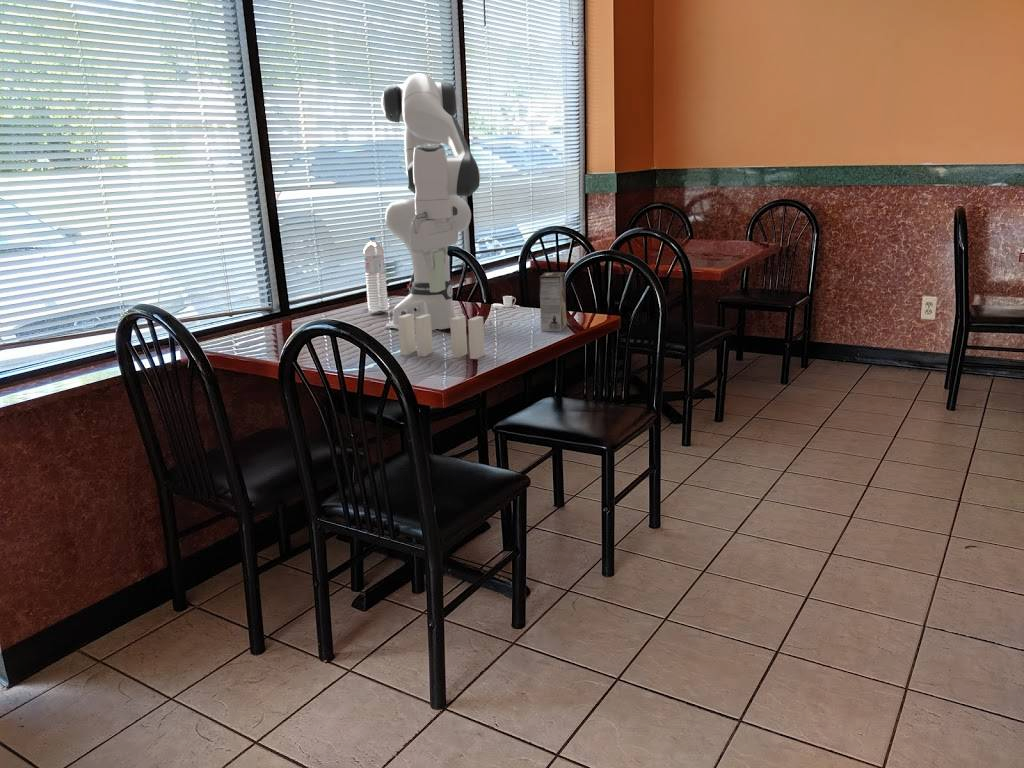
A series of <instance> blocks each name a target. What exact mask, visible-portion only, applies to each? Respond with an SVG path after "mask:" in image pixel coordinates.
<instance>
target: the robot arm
mask: <svg viewBox="0 0 1024 768" xmlns="http://www.w3.org/2000/svg"><path fill="white" fill-rule="evenodd" d="M458 96H459V95H458V93H457V90H456V89H455V86H454V84H452V83H451V82H447V81H440V82H438V81H435V80H434V79H433V78H432V77H431V76H429V75H428V74H425V73H423V72H422V73H421V72H419V73H414V74H411V75H410V76H409V77H407V78H406V80H405V81H404V83H401V84H397V83H393V84H390V85H388V86H386V87H385V88H384V89H383V92H382V95H381V99H380V100H381V101H380V104H381V109H382V112H383V114H384V116H385V118H386V119H387V120H388V121H390V122H392V123H400V122H401V123H402V122H403V123H404V126H405V127H404V140H403V141H404V143H403V145H404V160H405V171H406V173H405V174H406V177H407V180H408V186H407V189H408V190H410V192H411V193H413V194H414V198H405V199H400V200H396V201H392V202H390V203H389V205H388V206H387V208H386V209H385V212H384V222H385V225H386V227H387V230H389V232H391V234H392V235H394V236H395V237H397V238H398V239H399V240H400V241H401V242H402V243H403V244H404V246H405V247H406V248H407V250H408V252H409V254H410V258H411V263H412V269H413V272H412V273H413V281H412V282H411V283H409V284H406V286H407V287H406V289H408V290H409V294H408V295H406V296H405V297H404V298H403V299H402V300H401V301H399V302H398V303H397V304H396V305H395V306H394V308H393V311H392V320H391V321H389V322H387V323H386V324H385V327H386V326H388V327H397V328H399V325H398V317H400V316H403V315H405V314H414V325H415V318H416V317H419V316H421V315H424V314H427V315H431V328H432V331H436V330H435V329H439V330H446V329H451V326H450V319H452V318H454V317H456V314H455V309H454V304H453V284H452V283H453V282H452V279H451V273H450V271H451V269H450V258H449V254H448V252H449V251H448V247H450V246H455V245H456V244H457V242H458V240H459V233H460V232H463V231H464V232H465V231H466V229H467V228H468V227H469V226H470V223H471V219H472V211H471V209H470V206H469V204H468V202H466V200H465V199H463V198H462V197H471V196H472V195H473V194H475V192H476V191H477V190H478V188H479V187H480V182H481V181H480V180H481V174H480V169H479V166H478V163H477V161H476V159H475V158H474V156H473V154H472V152H471V150H470V148H469V145H468V143H467V140H466V138H465V134H464V132H463V130H462V128H461V126H460V123H459V121H458V119H457V118H456V117H455V115H456V113H457V110H458V107H459V97H458ZM442 144H444V145H446V146H447V147H448V148H449V149H450V150H451V154H452V156H450V157H449V156H447V153H446V149H445V146H444V145H442ZM435 250H443V253H444V270H445V288H446V289H445V290H442V291H440V292H430V286H429V270H428V269H432V268H434V267H435V261H433V259H432V255H433V252H432V251H435ZM415 330H416V325H415Z"/></svg>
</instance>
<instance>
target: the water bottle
mask: <svg viewBox="0 0 1024 768" xmlns="http://www.w3.org/2000/svg"><path fill="white" fill-rule="evenodd" d="M384 251H385V250H384V247H383V246H382V245H381V244H380V243H378V242H377V241H376V236H369V242H368V243H367V244H366V245H365V246H364V248H363V250H362V253H363V260H364V261H363V262H364V270H365V272H364V273H365V274H364V275H365V286H366V287H365V288H366V299H367V300H366V301H367V309H368V312H370V311H372V312H371V313H378V312H377V311H383V312H386V311H385V310H387V311H388V309H389V304H388V303H389V302H388V301H389V300H388V291H387V289H388V286H387V275H386V267H385V255H384V254H385V252H384Z"/></svg>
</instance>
